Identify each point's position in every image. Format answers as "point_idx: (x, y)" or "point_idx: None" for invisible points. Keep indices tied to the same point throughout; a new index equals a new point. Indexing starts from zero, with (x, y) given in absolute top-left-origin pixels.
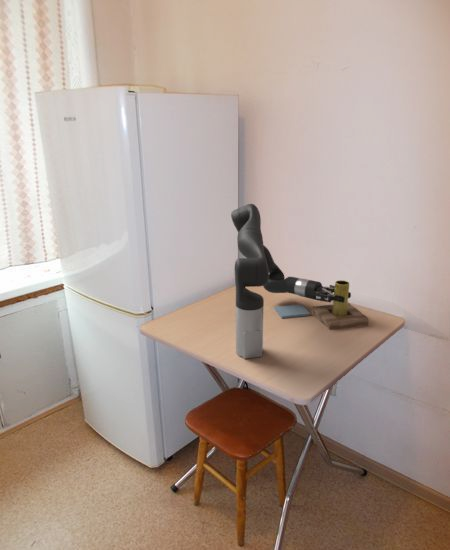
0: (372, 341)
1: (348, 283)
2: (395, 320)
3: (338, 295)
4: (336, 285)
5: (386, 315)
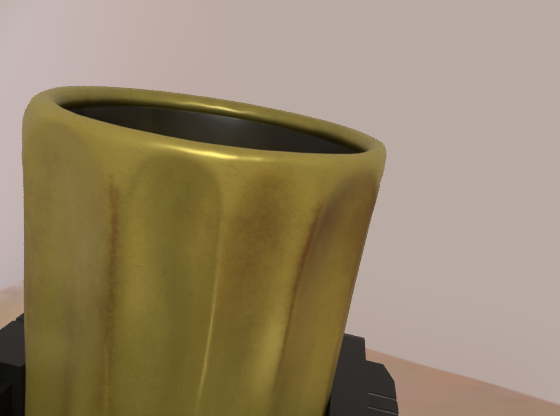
0: (441, 383)
1: (233, 103)
2: None
3: (327, 400)
4: (331, 229)
5: (14, 312)
